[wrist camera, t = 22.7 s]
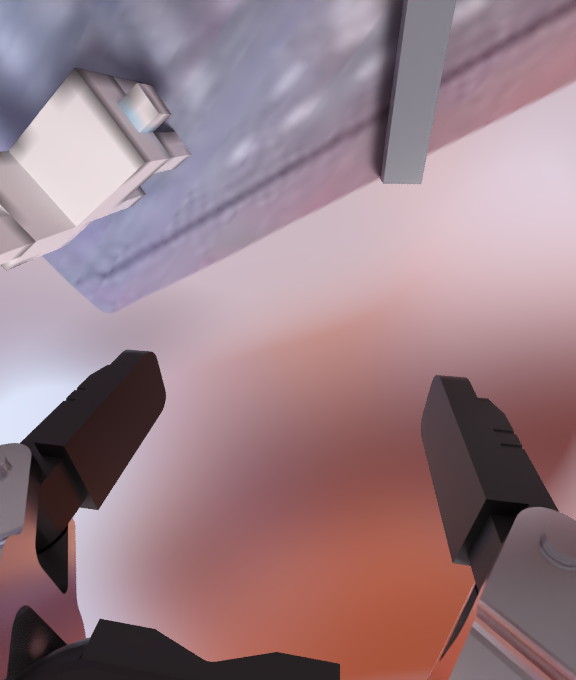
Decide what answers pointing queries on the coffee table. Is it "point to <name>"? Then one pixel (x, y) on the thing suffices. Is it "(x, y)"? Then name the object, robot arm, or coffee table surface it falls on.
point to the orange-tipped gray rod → (415, 88)
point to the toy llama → (81, 162)
